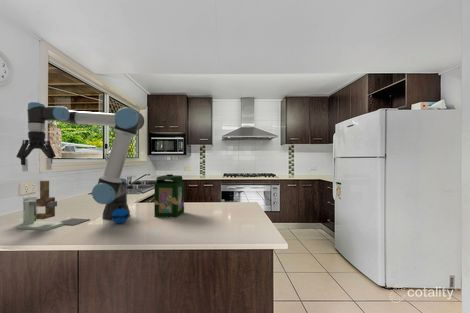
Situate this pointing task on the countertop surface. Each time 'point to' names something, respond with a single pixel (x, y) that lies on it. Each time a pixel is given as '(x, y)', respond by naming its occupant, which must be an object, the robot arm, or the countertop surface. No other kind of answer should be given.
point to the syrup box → (33, 198)
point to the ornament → (119, 215)
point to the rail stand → (37, 224)
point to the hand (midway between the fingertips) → (37, 170)
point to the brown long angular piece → (43, 199)
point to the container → (169, 196)
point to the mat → (74, 221)
